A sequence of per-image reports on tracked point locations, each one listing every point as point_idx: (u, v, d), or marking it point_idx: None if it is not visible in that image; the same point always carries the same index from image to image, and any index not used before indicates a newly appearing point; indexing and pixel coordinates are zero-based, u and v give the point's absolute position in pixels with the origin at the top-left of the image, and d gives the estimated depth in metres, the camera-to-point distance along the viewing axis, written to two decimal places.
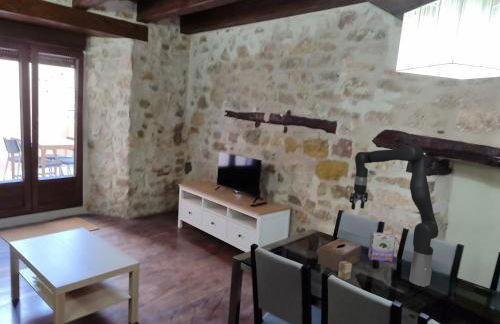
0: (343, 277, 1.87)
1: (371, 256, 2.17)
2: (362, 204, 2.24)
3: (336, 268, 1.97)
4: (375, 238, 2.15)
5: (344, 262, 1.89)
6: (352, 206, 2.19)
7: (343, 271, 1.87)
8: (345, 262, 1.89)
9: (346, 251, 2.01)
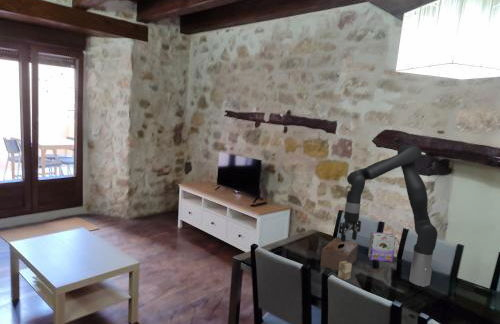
0: (343, 277, 1.87)
1: (371, 256, 2.17)
2: (354, 235, 1.88)
3: None
4: (375, 238, 2.15)
5: (344, 262, 1.89)
6: (342, 238, 1.83)
7: (343, 271, 1.87)
8: (345, 262, 1.89)
9: (348, 251, 2.01)
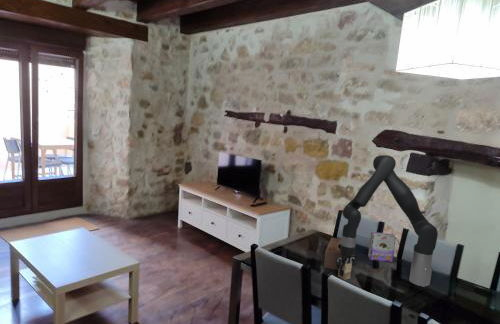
0: (343, 277, 1.87)
1: (371, 256, 2.17)
2: None
3: None
4: (375, 238, 2.15)
5: None
6: (340, 272, 1.87)
7: None
8: None
9: None
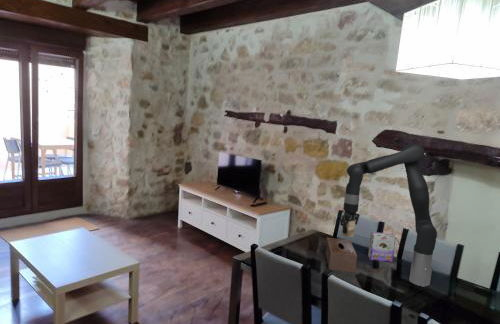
0: (347, 234, 1.88)
1: (371, 256, 2.17)
2: None
3: (350, 270, 1.97)
4: (375, 238, 2.15)
5: None
6: (344, 230, 1.88)
7: None
8: None
9: (353, 250, 2.03)
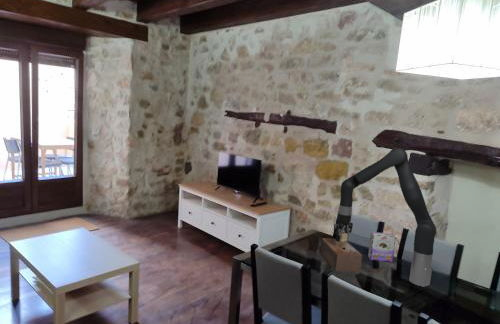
0: (340, 245, 2.06)
1: (371, 256, 2.17)
2: None
3: (355, 269, 1.98)
4: (375, 238, 2.15)
5: None
6: (336, 238, 2.05)
7: None
8: None
9: (354, 250, 2.04)
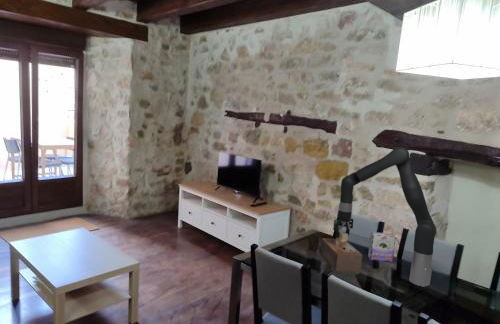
0: (340, 246, 2.06)
1: (371, 256, 2.17)
2: (347, 231, 2.10)
3: (356, 269, 1.98)
4: (375, 238, 2.15)
5: (341, 232, 2.08)
6: (336, 234, 2.05)
7: (340, 241, 2.06)
8: (342, 232, 2.09)
9: (354, 250, 2.04)
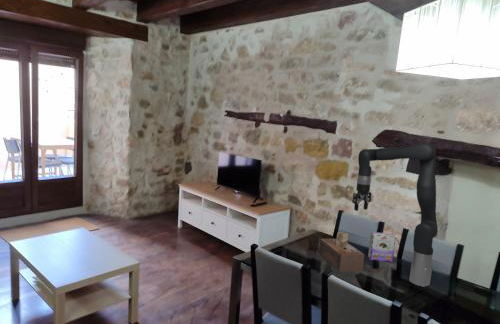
0: (341, 246, 2.06)
1: (371, 256, 2.17)
2: (365, 205, 2.11)
3: (358, 269, 1.99)
4: (375, 238, 2.15)
5: (341, 232, 2.09)
6: (355, 207, 2.06)
7: (340, 241, 2.06)
8: (342, 232, 2.09)
9: (355, 249, 2.05)
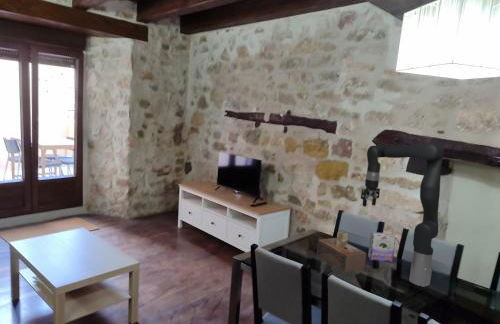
0: (341, 246, 2.06)
1: (371, 256, 2.17)
2: (374, 201, 2.13)
3: (361, 268, 2.01)
4: (375, 238, 2.15)
5: (341, 232, 2.09)
6: (363, 203, 2.08)
7: (341, 241, 2.07)
8: (342, 232, 2.09)
9: (355, 248, 2.07)
